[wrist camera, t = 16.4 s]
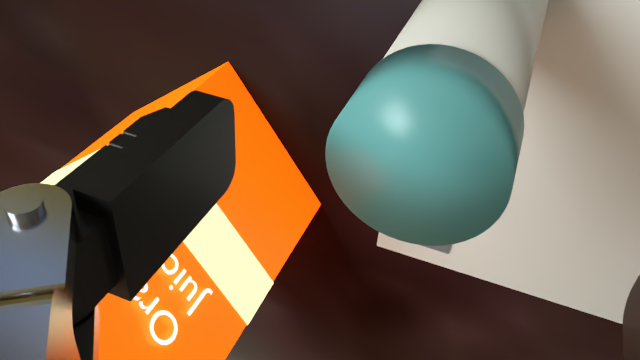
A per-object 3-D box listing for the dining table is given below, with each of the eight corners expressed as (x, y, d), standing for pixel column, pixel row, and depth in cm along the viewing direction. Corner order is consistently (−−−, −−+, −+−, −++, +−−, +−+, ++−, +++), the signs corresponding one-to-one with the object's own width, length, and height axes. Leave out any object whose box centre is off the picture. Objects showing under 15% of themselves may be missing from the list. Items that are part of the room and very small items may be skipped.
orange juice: (221, 235, 35) (-64, 599, 20) (130, 112, 32) (-286, 431, 17) (324, 204, 31) (58, 641, 16) (230, 58, 28) (-211, 424, 13)
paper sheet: (963, -92, 16) (979, -85, 15) (672, 327, 27) (673, 342, 26) (457, -163, 19) (451, -160, 19) (380, 235, 30) (376, 246, 30)
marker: (571, -66, 19) (539, 118, 10) (536, 42, 21) (485, 267, 13) (455, -87, 20) (333, 66, 11) (434, 19, 22) (319, 215, 13)
